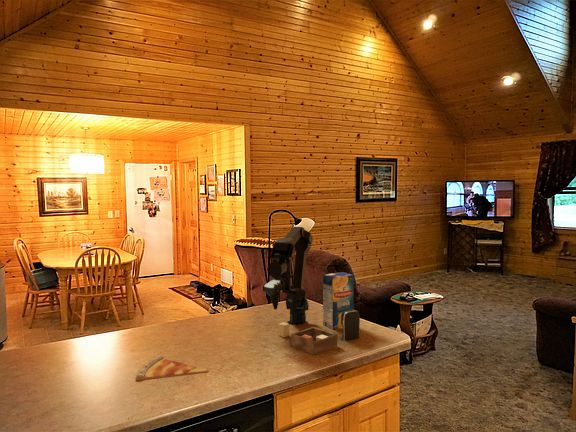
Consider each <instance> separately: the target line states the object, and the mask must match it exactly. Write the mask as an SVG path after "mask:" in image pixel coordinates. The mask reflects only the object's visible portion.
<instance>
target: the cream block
mask: <svg viewBox="0 0 576 432" xmlns="http://www.w3.org/2000/svg"><path fill="white" fill-rule="evenodd" d="M326 337H328V336H325V335H320V336H317V337H316V341H319V340H321V339H324V338H326Z"/></svg>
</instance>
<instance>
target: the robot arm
mask: <svg viewBox="0 0 576 432" xmlns="http://www.w3.org/2000/svg"><path fill="white" fill-rule="evenodd" d="M313 240H314V238H313V235H312V233H311V232H310V231H308V230H306V229H305V227H302V226H292V227H291V228H290V231H289V232H288V233H287V234H286V235H285V236H284V237H281V238H278V239H276V240H275V241H274V242H273V245H272V248H271V252H270V257H269V258H270V259H272V260H271V262H270V263H269V264H268V266H267V268H266V271H267V274H268V275H269V276H270V277H271V278H273V279H272V280H270V281H268V282H265V283H264V284H263V285H262V291H263V292H264V294H266V295H268V296H269V298H270V301H271V303H272V307H273V310H277V309H278V305H279V301H280V300H279V299H280V293H283V294H284V293H285V294H286V296H285V306H286V310H289V320H288V321H287V322H286V323H288V324H289V325H293V326H295V325H296V326H299V325H304V324H308V323H309V322H308V321H307V319H306V318H307V317H306V316H307V315H306V311H308V310H309V306H310V305H309V304H310V303H309V301H308V298H307V292H306V290H305V288H304V280H305V271H306V262H307V261H306V260H307V254H308V253H309V251H310V250H311V248H312V244H313V242H314V241H313ZM294 253H295V258H294V267H293V274H292V258H293V257H294Z"/></svg>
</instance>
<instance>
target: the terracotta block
mask: <svg viewBox="0 0 576 432" xmlns="http://www.w3.org/2000/svg"><path fill="white" fill-rule="evenodd" d="M300 337H303V338H306V339H309V340H312V337H311V336H308V335H303V336H300Z"/></svg>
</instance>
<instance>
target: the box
mask: <svg viewBox="0 0 576 432" xmlns="http://www.w3.org/2000/svg"><path fill="white" fill-rule="evenodd" d="M303 335H308V336H311V337H312V340H309V339H306V338H303V337H300V336H303ZM320 335H325V336H328V337H326V338H324V339H321V340H319V341H316V337H317V336H320ZM290 347H292V348H295V349H297V350H300V351H302V352H305V353H308V354H311V355H313V356H317V355H320V354H322V353H325V352H327V351H330V350H332V349H334V348H337V347H338V334H336V333H334V332H330V331H327V330H323V329H321V328H318V327H316V326H311V327H308V328H306V329H303V330H300V331H297V332H294V333H290Z"/></svg>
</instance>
